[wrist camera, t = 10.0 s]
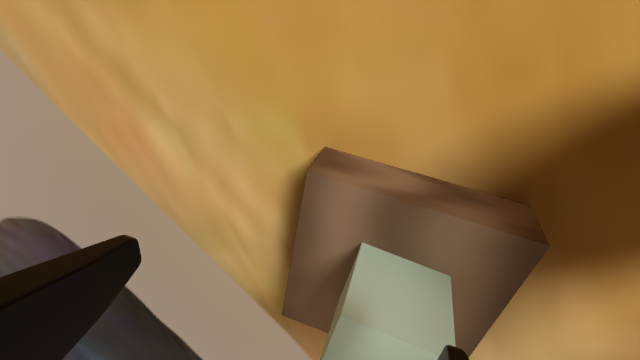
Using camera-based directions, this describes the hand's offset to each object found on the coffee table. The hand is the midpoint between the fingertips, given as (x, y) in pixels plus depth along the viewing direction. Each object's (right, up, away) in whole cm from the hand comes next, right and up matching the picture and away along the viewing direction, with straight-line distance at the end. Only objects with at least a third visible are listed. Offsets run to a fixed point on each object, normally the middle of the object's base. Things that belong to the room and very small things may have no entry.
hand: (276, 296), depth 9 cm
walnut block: (+6, -1, +14) cm, 15 cm away
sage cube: (+5, -3, +10) cm, 12 cm away
